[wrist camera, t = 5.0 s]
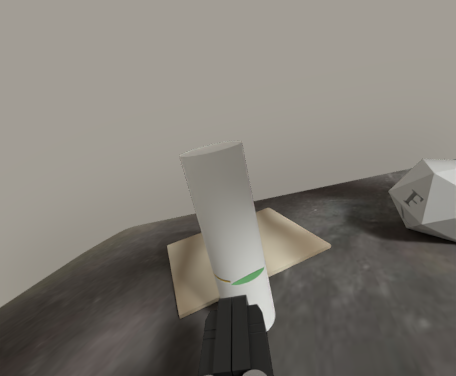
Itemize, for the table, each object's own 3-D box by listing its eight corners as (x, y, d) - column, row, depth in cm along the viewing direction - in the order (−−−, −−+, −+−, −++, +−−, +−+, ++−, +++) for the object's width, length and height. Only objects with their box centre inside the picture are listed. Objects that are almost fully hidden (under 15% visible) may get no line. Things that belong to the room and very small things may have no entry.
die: (390, 213, 30) (365, 174, 25) (462, 177, 27) (448, 124, 22) (439, 267, 24) (418, 228, 19) (541, 229, 20) (546, 170, 15)
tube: (220, 332, 18) (166, 160, 13) (235, 292, 22) (197, 146, 17) (270, 342, 16) (229, 150, 12) (278, 297, 20) (249, 137, 16)
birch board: (269, 209, 38) (268, 207, 38) (330, 247, 25) (330, 244, 25) (167, 247, 33) (166, 245, 33) (180, 318, 20) (178, 315, 20)
